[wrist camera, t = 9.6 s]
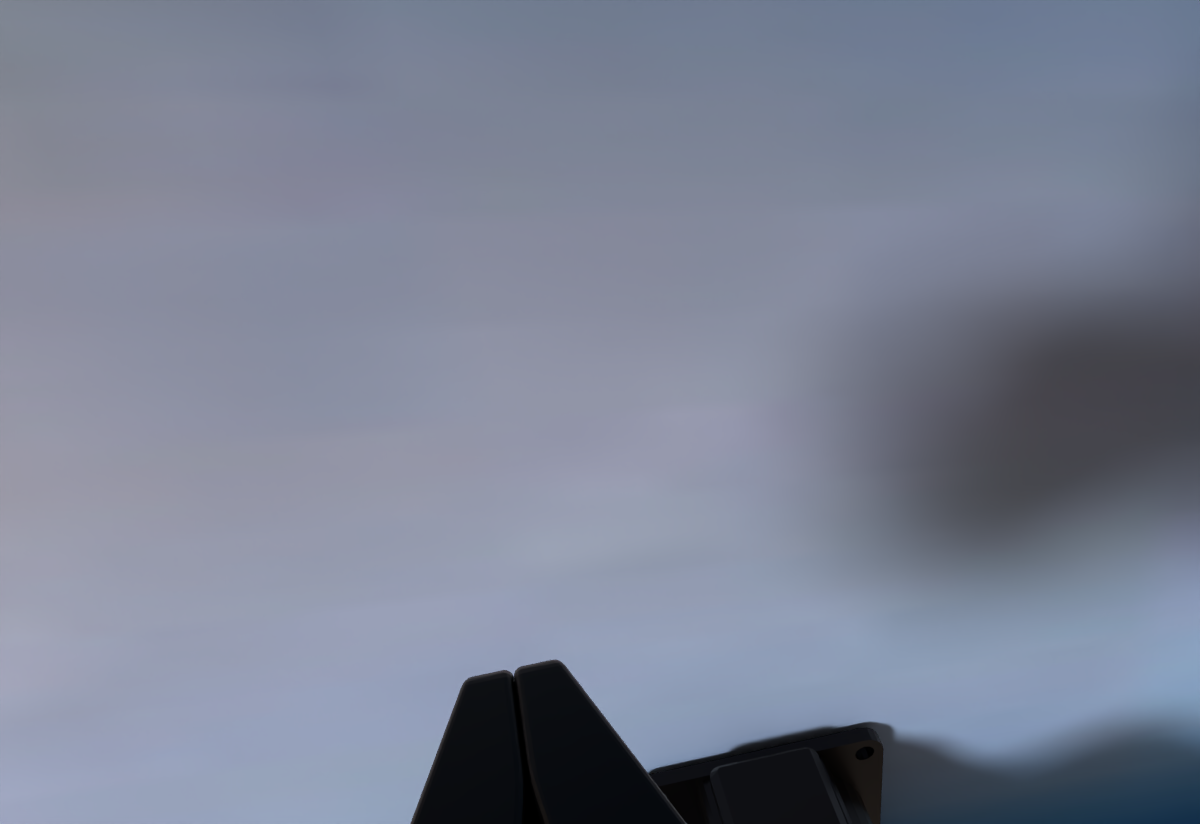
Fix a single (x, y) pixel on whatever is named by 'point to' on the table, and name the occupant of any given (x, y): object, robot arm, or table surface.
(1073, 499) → the table surface
